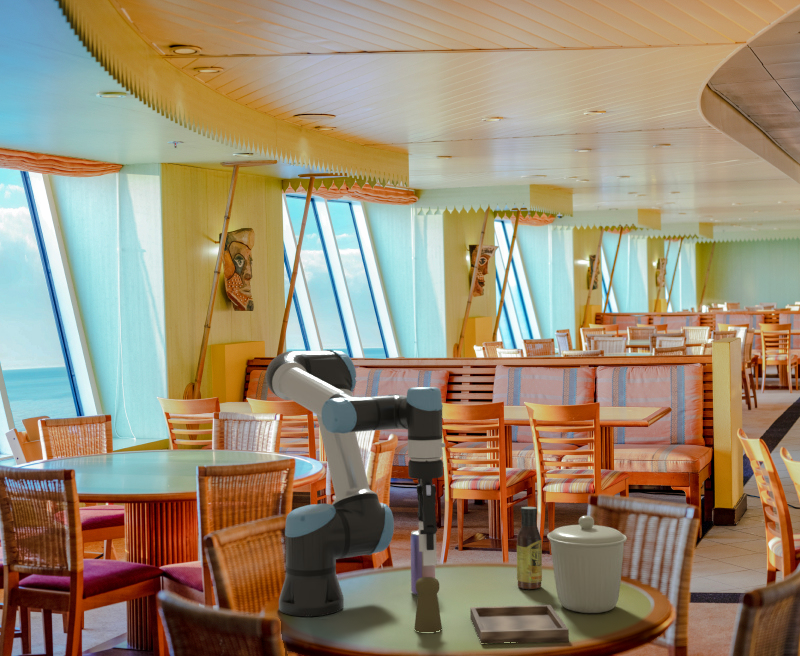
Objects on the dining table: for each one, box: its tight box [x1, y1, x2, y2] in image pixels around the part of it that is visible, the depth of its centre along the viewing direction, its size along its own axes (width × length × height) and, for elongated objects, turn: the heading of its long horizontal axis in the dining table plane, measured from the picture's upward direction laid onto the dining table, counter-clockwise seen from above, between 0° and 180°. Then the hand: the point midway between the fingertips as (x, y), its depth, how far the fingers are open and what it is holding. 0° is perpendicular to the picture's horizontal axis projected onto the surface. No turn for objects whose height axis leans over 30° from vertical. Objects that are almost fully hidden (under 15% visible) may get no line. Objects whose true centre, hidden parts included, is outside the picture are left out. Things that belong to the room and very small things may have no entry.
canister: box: [546, 515, 628, 614], centre depth 212 cm, size 18×18×21 cm
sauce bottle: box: [516, 506, 543, 590], centre depth 231 cm, size 7×6×20 cm
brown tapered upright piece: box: [414, 577, 443, 632], centre depth 197 cm, size 6×6×11 cm
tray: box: [469, 604, 570, 644], centre depth 196 cm, size 18×18×2 cm
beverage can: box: [410, 529, 436, 596], centre depth 226 cm, size 6×6×15 cm
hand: (427, 558), depth 197 cm, fingers open, 13 cm apart
